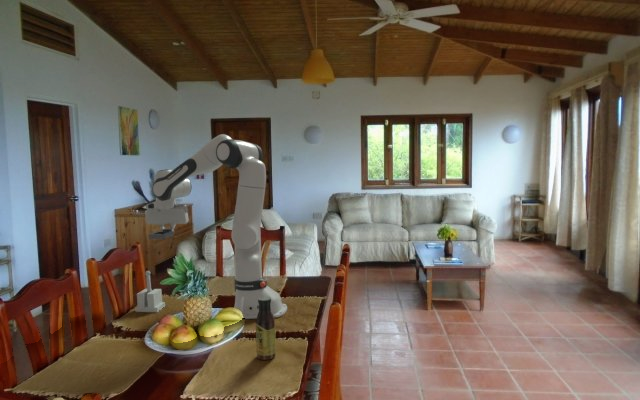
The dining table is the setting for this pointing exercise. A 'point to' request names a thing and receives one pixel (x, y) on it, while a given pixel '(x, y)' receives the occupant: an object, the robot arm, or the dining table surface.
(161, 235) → the dark grey flat block
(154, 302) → the grey post holder
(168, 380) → the dining table surface
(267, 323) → the sauce bottle
